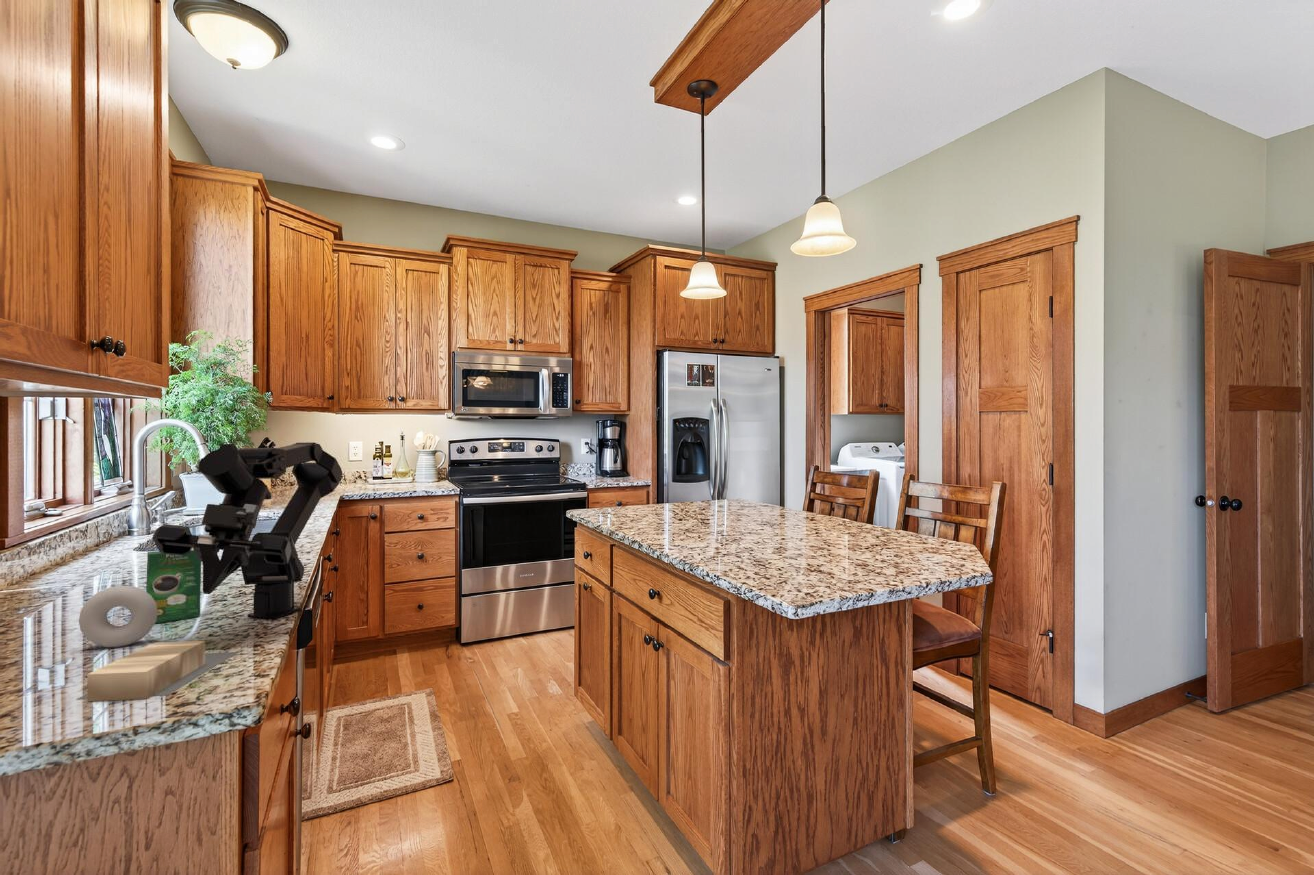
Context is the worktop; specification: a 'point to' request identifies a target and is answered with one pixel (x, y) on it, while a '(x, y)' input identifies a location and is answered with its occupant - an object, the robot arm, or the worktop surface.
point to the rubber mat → (192, 673)
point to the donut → (118, 636)
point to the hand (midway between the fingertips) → (206, 593)
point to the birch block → (145, 671)
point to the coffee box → (174, 585)
